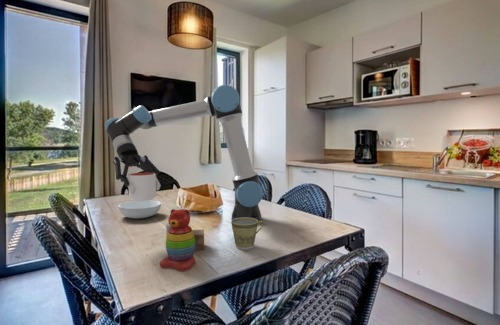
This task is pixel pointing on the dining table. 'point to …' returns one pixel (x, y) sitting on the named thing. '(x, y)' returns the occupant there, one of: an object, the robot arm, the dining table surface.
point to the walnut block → (199, 240)
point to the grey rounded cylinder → (167, 228)
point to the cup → (143, 186)
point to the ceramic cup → (245, 232)
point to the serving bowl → (139, 208)
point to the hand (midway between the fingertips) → (146, 189)
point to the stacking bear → (179, 242)
